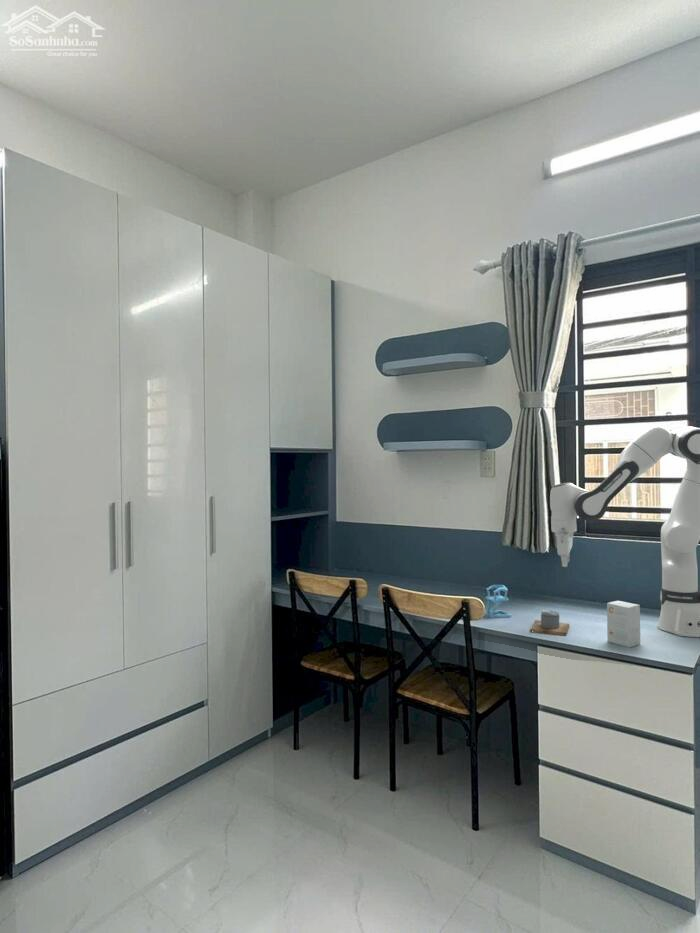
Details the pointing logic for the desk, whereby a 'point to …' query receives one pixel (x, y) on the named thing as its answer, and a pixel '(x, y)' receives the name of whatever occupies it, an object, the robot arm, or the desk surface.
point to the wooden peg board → (557, 631)
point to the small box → (623, 623)
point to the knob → (550, 619)
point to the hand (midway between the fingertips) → (565, 564)
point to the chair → (496, 601)
